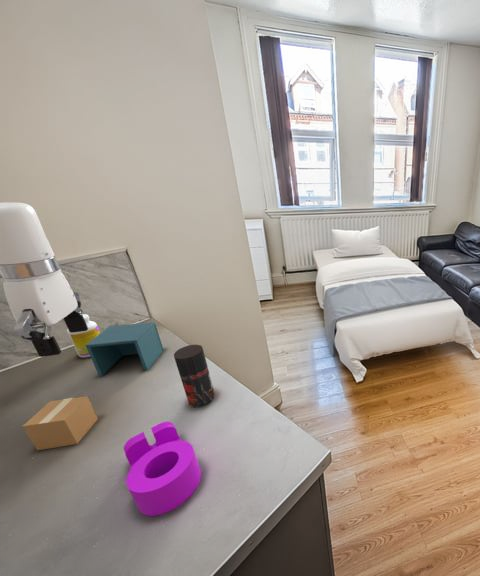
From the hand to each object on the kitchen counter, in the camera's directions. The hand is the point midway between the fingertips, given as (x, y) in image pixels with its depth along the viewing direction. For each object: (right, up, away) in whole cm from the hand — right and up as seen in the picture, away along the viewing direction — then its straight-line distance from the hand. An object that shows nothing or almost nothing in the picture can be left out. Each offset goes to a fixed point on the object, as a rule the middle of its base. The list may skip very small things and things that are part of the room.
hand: (66, 342), depth 63 cm
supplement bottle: (-25, -9, +31) cm, 41 cm away
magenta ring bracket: (+27, -26, -6) cm, 38 cm away
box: (-2, -21, +2) cm, 21 cm away
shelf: (-8, -11, +26) cm, 30 cm away
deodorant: (+22, -18, +13) cm, 31 cm away
